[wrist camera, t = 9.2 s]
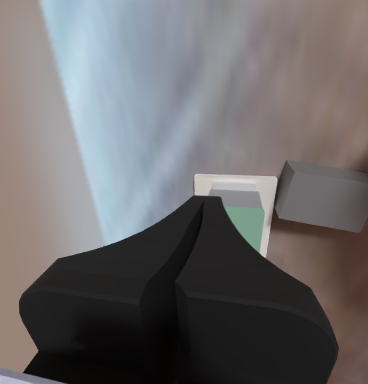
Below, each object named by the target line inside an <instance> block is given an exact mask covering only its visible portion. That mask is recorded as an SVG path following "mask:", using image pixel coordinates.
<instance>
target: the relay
mask: <svg viewBox="0 0 368 384" xmlns="http://www.w3.org/2000/svg"><path fill="white" fill-rule="evenodd" d="M274 206H275V209H276V212H277V215H278V218H279V219H285V220H290V221H296V222H301V223H307V224H313V225H318V226H324V227H329V228H335V229H340V230H346V231H351V232H357V233H360V232H361V230H362V228H363V226H364V224H365V223H366V221H367V219H368V174H367V173H365V172H360V171H354V170H347V169H340V168H333V167H327V166H320V165H313V164H306V163H299V162H293V161H286V163H285V166H284V170H283V173H282V176H281V179H280V182H279V185H278V188H277V192H276V195H275V200H274Z"/></svg>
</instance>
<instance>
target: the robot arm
mask: <svg viewBox="0 0 368 384" xmlns="http://www.w3.org/2000/svg"><path fill="white" fill-rule="evenodd" d="M19 313H20V316H21V318H22V321H23V323H24V325H25V327H26V328H27V330H28V332H29V334H30V336H31V338H32V339H33V341H34V343H35V345H36V346H37V348H38V350H39V351H38V353H37V354H36V355H35V357H34V358H33V359H32V361H31V362H30V364H29V365H28V366H27V368H26V369H25V371H24V372H23V373H20V372H16V371H12V370H8V369H4V368H0V384H327V381H328V379H329V377H330V374H331V372H332V369H333V367H334V365H335V362H336V360H337V356H338V349H339V347H338V344H337V341H336V338H335V335H334V332H333V329H332V327H331V325H330V322H329V320H328V318H327V316H326V314H325V312H324V311H323V309H322V307H321V305H320V303H319V302H318V300H317V298H316V296H315V295H314V293H313V291H312V289H311V288H310V287H308V286H307V285H305V284H303V283H302V282H300V281H298V280H297V279H295V278H294V277H292V276H290V275H289V274H287V273H285V272H284V271H282V270H281V269H279V268H278V267H277V266H275V265H274V264H273V263H271V262H270V261H268V260H267V259H266V258H265V257H263V256H262V255H261V254H260V253H259V252H258V251H257V250H255V249H254V248H253V247H252V246H251V245H250V244H249V243H248V242H247V241H246V240H245V238H244V237H243V236H242V235H241V234H240V232H239V231H238V230H237V228H236V227H235V225H234V224H233V222H232V221H231V219H230V217H229V216H228V214H227V212H226V210H225V208H224V205H223V202H222V198H221V197H220V196H201V195H194V196H192V197H191V198H190V199H189V200H187V201H186V202H185V203H184V204H183V205H181V206H180V207H179V208H178V209H176V210H175V211H174V212H172V213H171V214H170V215H168V216H167V217H165V218H164V219H162V220H161V221H159V222H158V223H156V224H154V225H153V226H151V227H149V228H147V229H145V230H144V231H142V232H139V233H137V234H135V235H133V236H130V237H128V238H126V239H123V240H121V241H118V242H116V243H113V244H110V245H107V246H104V247H101V248H98V249H95V250H91V251H87V252H83V253H79V254H75V255H72V256H67V257H63V258H58V259H57V260H56V261H55V262H54V263H53V264H52V265H51V266H50V267H49V268H48V269H47V270H46V271H45V272H44V273H43V274H42V275H41V276H40V277H39V278H38V279H37V280H36V281H35V282H34V283H33V284H32V285H31V286H30V287H29V288H28V289H27V290H26V291H25V292H24V293H23V294H22V296H21V298H20V300H19Z"/></svg>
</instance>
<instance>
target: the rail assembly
mask: <svg viewBox="0 0 368 384" xmlns="http://www.w3.org/2000/svg"><path fill="white" fill-rule="evenodd" d="M277 181H278V180H277V178H276V177H274V176H244V175H214V174H195V177H194V184H195V195H201V196H220V197H221V198H222V202H223V205H224V208H225V210H226V212H227V214H228V216H229V217H230V219H231V221H232V222H233V224H234V225H235V227H236V228H237V230H238V231H239V232H240V234H241V235H242V236H243V237H244V238H245V240H246V241H247V242H248V243H249V244H250V245H251V246H252V247H253V248H254V249H255V250H257V251H258V252H259V253H260V254H261V255H262V256H263V257H265V258H266V253H267V246H268V240H269V233H270V227H271V220H272V213H273V207H274V200H275V194H276V187H277Z"/></svg>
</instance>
